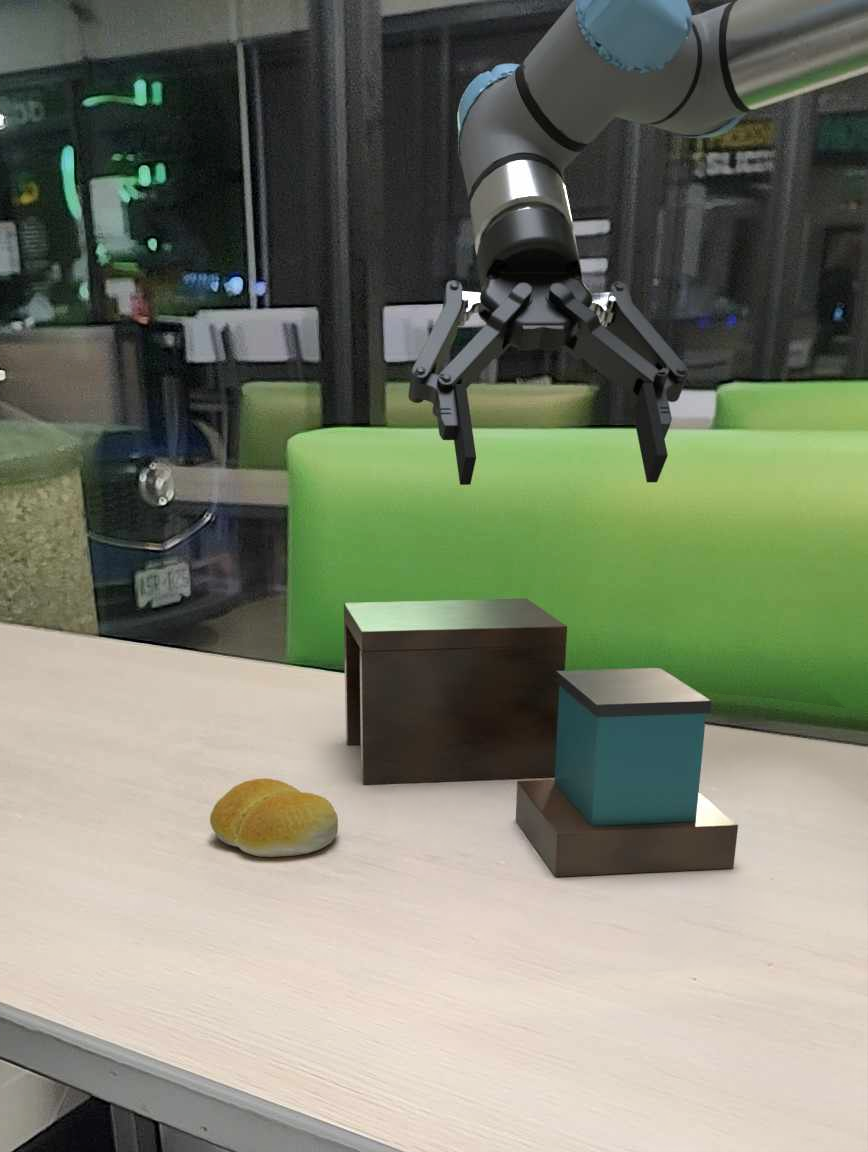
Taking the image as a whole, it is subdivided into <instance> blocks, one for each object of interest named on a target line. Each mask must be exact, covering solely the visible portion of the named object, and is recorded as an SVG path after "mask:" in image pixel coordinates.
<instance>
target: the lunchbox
mask: <svg viewBox="0 0 868 1152" xmlns="http://www.w3.org/2000/svg"><path fill="white" fill-rule="evenodd" d="M556 683H558V684H559V702H558V722H557V742H556V763H555V777H554V780H555V784H556V785H557V787H558V788H559V789H560V790H561V791H562V792H563V794H564V795H565V796H566V797H567V798H568V799H569V800H570V802H571V803H572V804H573V805H574V806H575V807H576V809H577V810H578V811H579V812H580V813H581V814H582V816H583V817H584V818H585V819H586V820H587V821H588V822H589V824H590V825H591V826H609V825H631V824H654V823H677V822H696V814H697V804H698V793H700V782H701V772H702V762H703V751H704V750H703V749H704V739H705V730H706V720H707V714H711V713H712V712H711V711H712V702H713V701H712V700H711V699H709V698H708V697H706V696H704V694H702V693H700V692H698V691H697V690H695V689H694V688H692V687H691V686H689V685H687V684H686V683H684V682H683V681H682V680H679V678H677V677H675V676H673V675H672V674H671V673H669V672H667V671H666V670H664V669H662V668H661V667H637V668H635V667H634V668H608V669H607V668H606V669H604V668H603V669H602V668H601V669H576V670H575V669H574V670H572V669H571V670H570V669H569V670H565V671H557V672H556Z"/></svg>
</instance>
